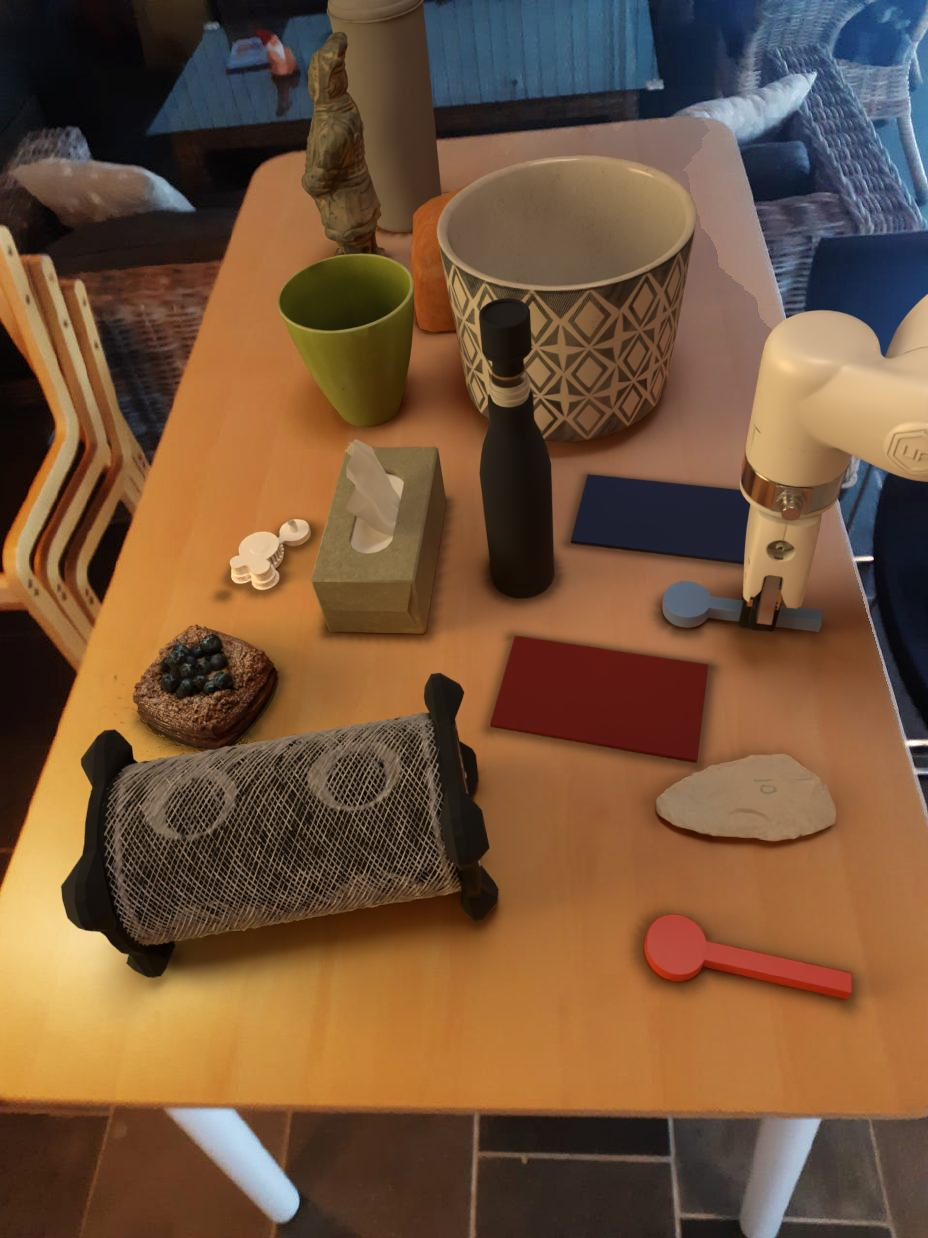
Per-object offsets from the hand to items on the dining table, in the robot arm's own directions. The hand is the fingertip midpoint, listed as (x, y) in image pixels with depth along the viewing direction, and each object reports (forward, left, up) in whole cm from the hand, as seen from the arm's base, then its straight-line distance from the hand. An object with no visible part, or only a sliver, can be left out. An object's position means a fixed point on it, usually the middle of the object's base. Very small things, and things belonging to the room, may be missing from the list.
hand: (756, 617), depth 82 cm
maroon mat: (+13, +11, -1) cm, 17 cm away
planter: (+24, -31, -1) cm, 39 cm away
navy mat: (+10, -12, -1) cm, 16 cm away
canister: (+56, -70, -1) cm, 90 cm away
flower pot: (+47, -25, -1) cm, 53 cm away
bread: (+32, -51, -1) cm, 60 cm away
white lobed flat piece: (+50, +1, -1) cm, 50 cm away
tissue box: (+37, -1, -1) cm, 37 cm away
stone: (0, +19, -1) cm, 19 cm away
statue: (+59, -54, -1) cm, 80 cm away
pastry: (+49, +18, -1) cm, 52 cm away
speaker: (+33, +31, -1) cm, 45 cm away
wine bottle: (+23, -2, -1) cm, 23 cm away
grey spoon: (+1, 0, 0) cm, 2 cm away
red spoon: (-1, +32, -1) cm, 32 cm away
